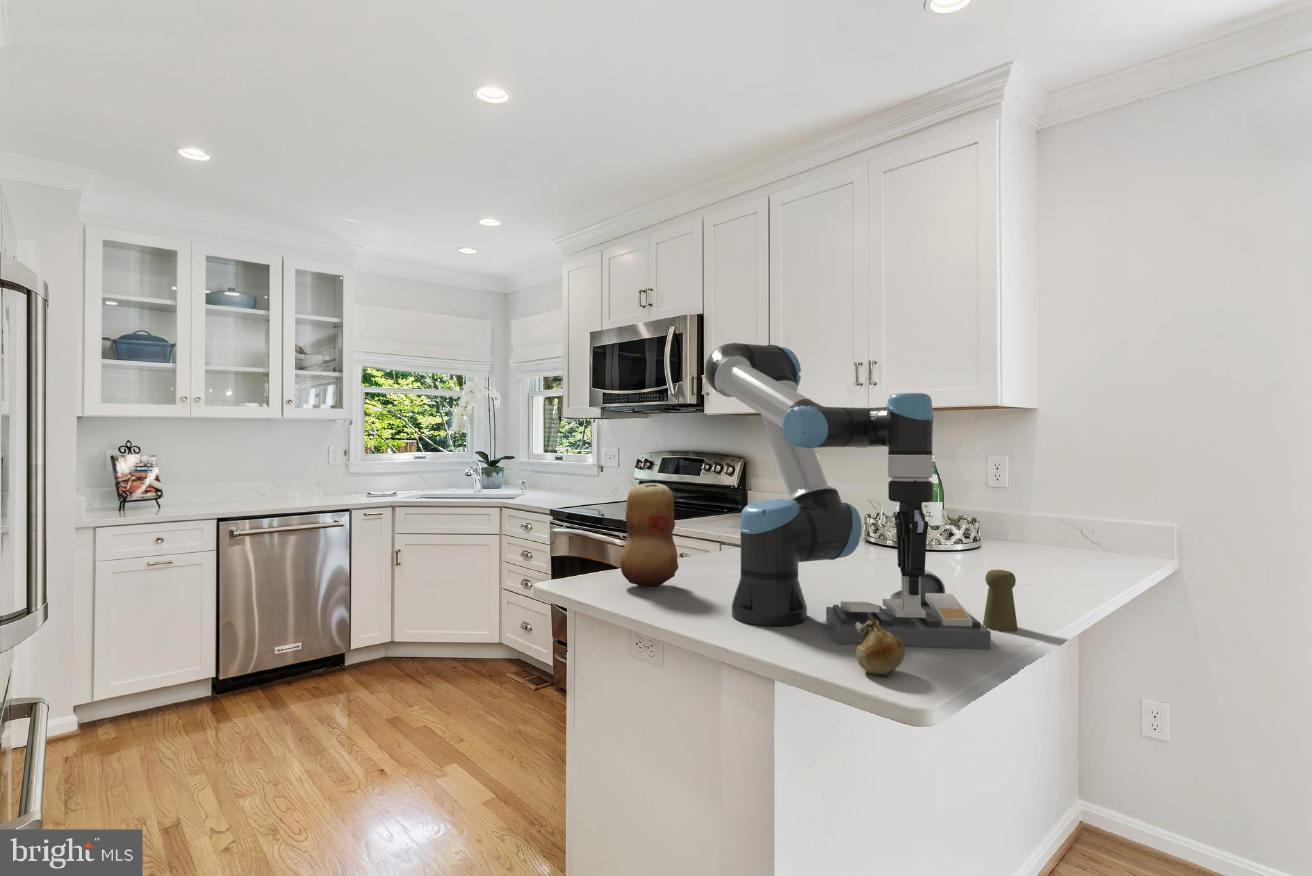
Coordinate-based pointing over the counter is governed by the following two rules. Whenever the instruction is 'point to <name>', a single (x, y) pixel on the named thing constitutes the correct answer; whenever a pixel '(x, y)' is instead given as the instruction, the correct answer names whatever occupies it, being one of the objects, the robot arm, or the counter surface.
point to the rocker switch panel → (908, 629)
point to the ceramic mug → (926, 588)
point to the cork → (1000, 601)
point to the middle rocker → (900, 609)
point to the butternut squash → (649, 536)
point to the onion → (878, 649)
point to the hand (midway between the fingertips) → (911, 611)
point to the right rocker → (948, 609)
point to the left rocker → (859, 606)
